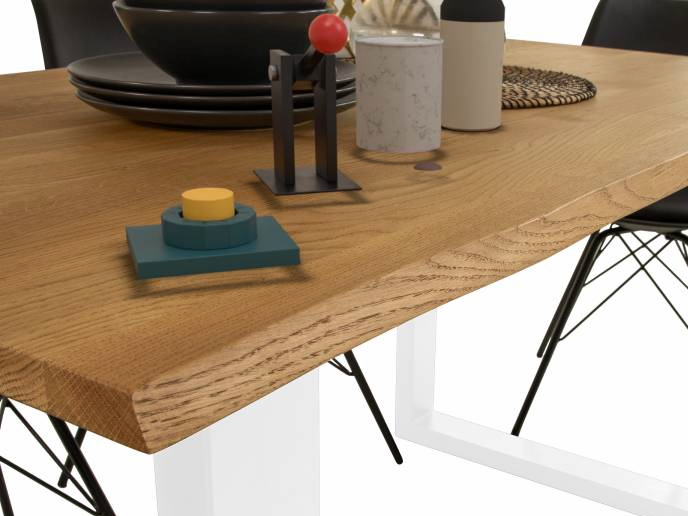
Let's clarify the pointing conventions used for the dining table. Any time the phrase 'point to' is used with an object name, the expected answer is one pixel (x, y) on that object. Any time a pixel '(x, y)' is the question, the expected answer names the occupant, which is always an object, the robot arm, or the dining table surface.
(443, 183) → the dining table surface
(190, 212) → the button
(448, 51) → the travel mug
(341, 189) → the bracket
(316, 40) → the lever
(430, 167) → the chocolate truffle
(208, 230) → the control block
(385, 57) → the white marbled canister
